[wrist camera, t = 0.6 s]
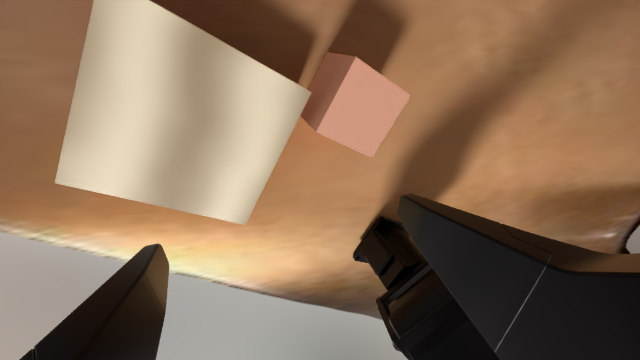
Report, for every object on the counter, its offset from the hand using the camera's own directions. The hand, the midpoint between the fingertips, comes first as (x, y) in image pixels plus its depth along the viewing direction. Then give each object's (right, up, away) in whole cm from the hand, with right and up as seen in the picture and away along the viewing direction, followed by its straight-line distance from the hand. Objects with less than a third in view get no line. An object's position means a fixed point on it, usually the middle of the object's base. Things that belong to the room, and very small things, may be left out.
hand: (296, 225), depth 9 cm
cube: (+2, +8, +11) cm, 14 cm away
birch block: (-8, +6, +9) cm, 14 cm away
